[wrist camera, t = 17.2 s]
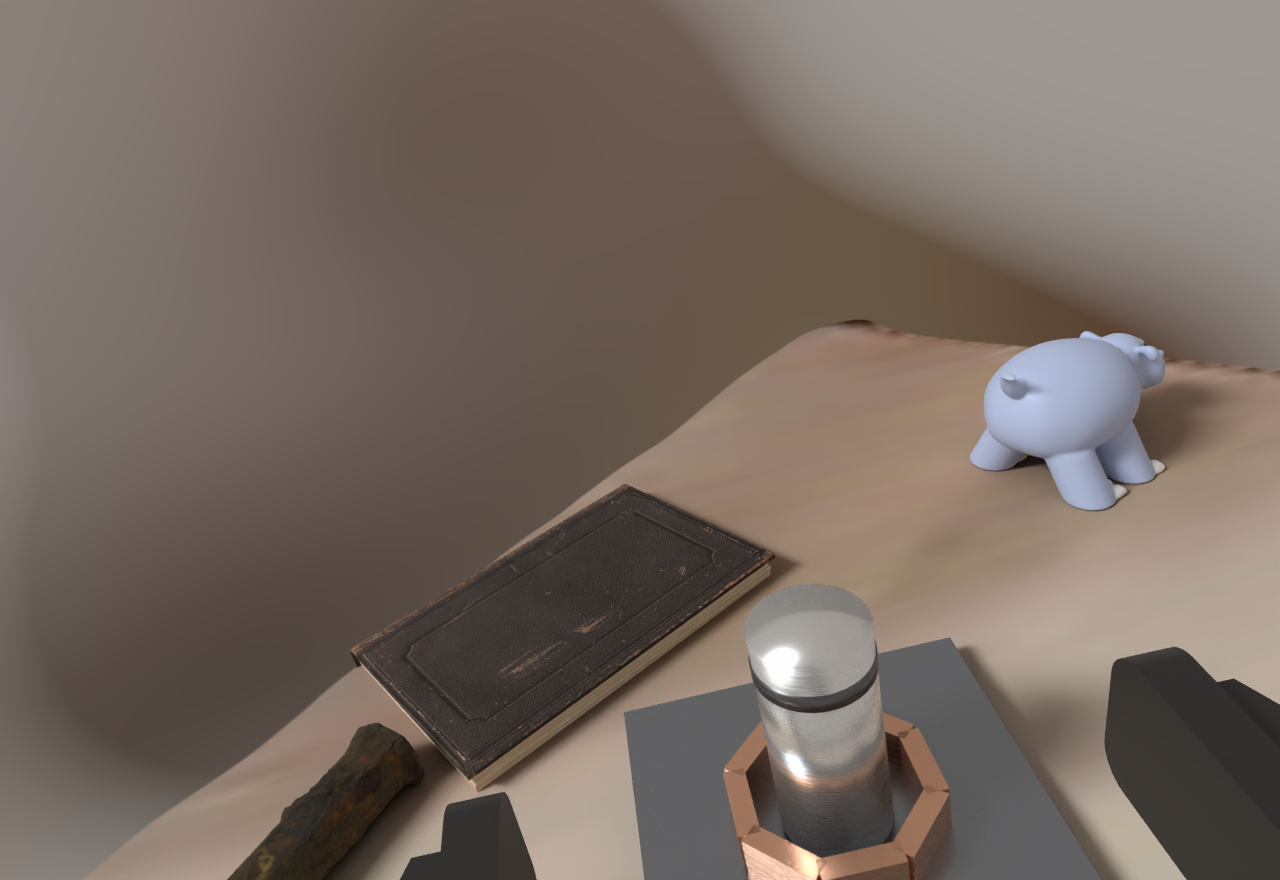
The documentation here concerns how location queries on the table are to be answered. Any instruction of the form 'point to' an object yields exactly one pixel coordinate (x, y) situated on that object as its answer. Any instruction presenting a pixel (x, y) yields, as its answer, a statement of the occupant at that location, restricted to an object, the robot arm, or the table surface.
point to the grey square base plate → (919, 774)
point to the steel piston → (822, 716)
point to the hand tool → (335, 809)
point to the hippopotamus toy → (1073, 415)
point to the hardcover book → (557, 627)
